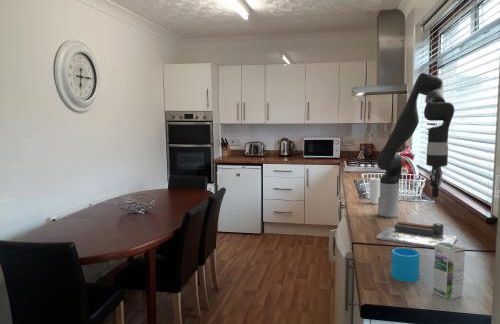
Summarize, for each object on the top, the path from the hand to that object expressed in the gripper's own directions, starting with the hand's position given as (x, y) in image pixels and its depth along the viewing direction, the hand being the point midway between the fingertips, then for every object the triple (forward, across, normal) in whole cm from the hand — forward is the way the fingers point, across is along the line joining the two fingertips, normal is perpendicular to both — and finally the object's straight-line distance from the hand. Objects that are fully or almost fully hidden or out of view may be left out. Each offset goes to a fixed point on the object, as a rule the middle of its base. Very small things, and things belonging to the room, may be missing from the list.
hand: (435, 196), depth 153 cm
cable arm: (+18, +9, +7) cm, 21 cm away
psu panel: (+19, +2, +7) cm, 20 cm away
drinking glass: (+19, +62, +43) cm, 77 cm away
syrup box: (+19, -48, -12) cm, 53 cm away
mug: (+19, -40, +2) cm, 44 cm away
